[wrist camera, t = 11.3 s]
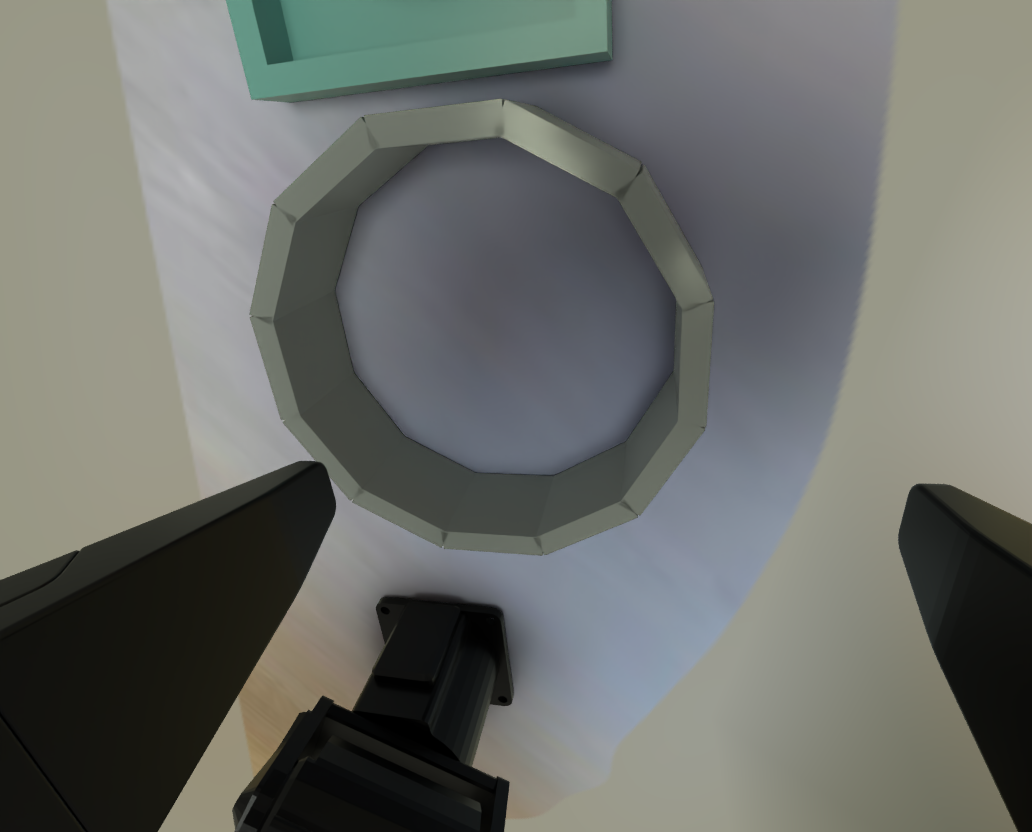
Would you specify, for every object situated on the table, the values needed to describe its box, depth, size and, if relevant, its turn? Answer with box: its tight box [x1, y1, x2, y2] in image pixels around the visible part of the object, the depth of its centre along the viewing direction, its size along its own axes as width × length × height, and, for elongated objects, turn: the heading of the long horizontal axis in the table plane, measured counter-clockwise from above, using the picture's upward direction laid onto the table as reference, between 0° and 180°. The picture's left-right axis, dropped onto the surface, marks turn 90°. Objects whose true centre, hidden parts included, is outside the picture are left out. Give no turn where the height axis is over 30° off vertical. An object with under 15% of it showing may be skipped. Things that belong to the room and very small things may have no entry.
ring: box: [250, 99, 714, 556], centre depth 19 cm, size 14×14×4 cm
